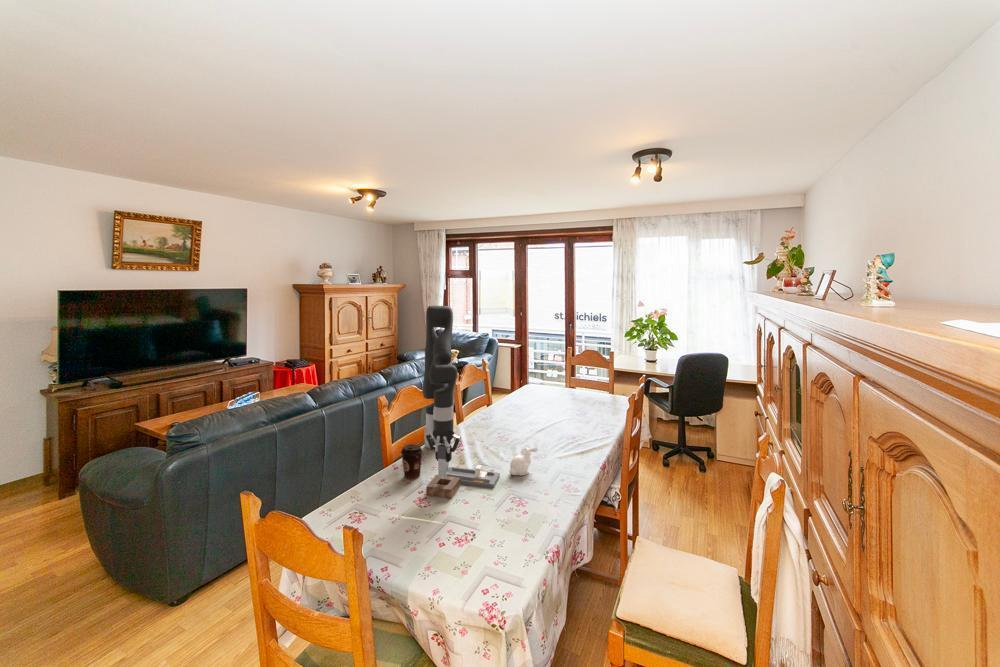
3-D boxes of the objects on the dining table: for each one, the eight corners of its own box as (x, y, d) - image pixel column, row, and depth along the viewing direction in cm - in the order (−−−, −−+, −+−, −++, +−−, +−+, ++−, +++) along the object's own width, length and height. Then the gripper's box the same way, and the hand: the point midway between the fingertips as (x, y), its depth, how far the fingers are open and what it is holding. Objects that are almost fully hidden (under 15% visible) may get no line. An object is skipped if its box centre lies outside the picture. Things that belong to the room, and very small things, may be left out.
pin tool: (437, 476, 163) (437, 445, 162) (441, 472, 166) (440, 442, 165) (446, 477, 162) (446, 446, 161) (449, 473, 166) (449, 443, 164)
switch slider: (474, 478, 172) (474, 469, 171) (478, 473, 177) (478, 463, 176) (484, 479, 171) (484, 470, 171) (487, 474, 176) (487, 465, 175)
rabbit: (522, 465, 190) (523, 439, 188) (539, 472, 183) (540, 445, 182) (504, 474, 181) (504, 447, 179) (521, 481, 174) (521, 453, 173)
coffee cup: (403, 483, 172) (402, 452, 170) (399, 474, 179) (398, 444, 177) (424, 479, 175) (424, 449, 173) (420, 471, 183) (419, 441, 181)
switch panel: (440, 482, 173) (440, 475, 173) (449, 471, 183) (449, 464, 182) (493, 489, 168) (493, 481, 167) (499, 477, 177) (499, 470, 177)
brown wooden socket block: (426, 496, 162) (426, 486, 161) (436, 484, 171) (436, 474, 171) (451, 499, 159) (451, 489, 159) (460, 487, 169) (460, 477, 168)
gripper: (421, 418, 160) (422, 462, 162) (457, 421, 156) (457, 467, 158) (429, 412, 167) (430, 455, 169) (464, 415, 164) (464, 458, 166)
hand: (443, 460), depth 164 cm, fingers closed on pin tool, 3 cm apart
